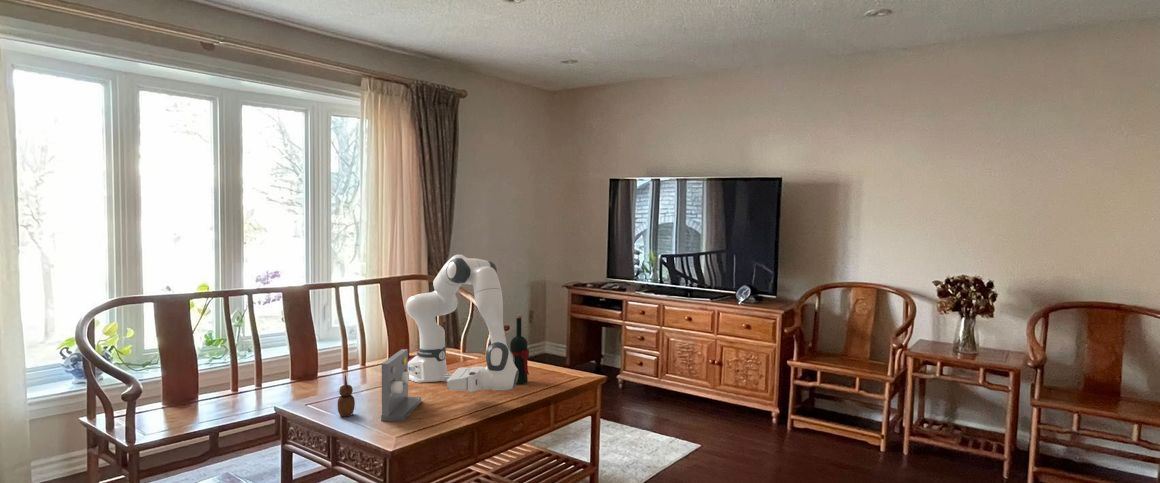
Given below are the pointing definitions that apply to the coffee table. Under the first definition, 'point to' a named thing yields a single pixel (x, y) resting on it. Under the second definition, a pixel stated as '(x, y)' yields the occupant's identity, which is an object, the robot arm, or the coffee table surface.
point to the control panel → (396, 404)
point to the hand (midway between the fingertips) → (440, 377)
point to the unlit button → (396, 387)
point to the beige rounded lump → (405, 377)
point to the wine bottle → (520, 353)
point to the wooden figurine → (346, 400)
